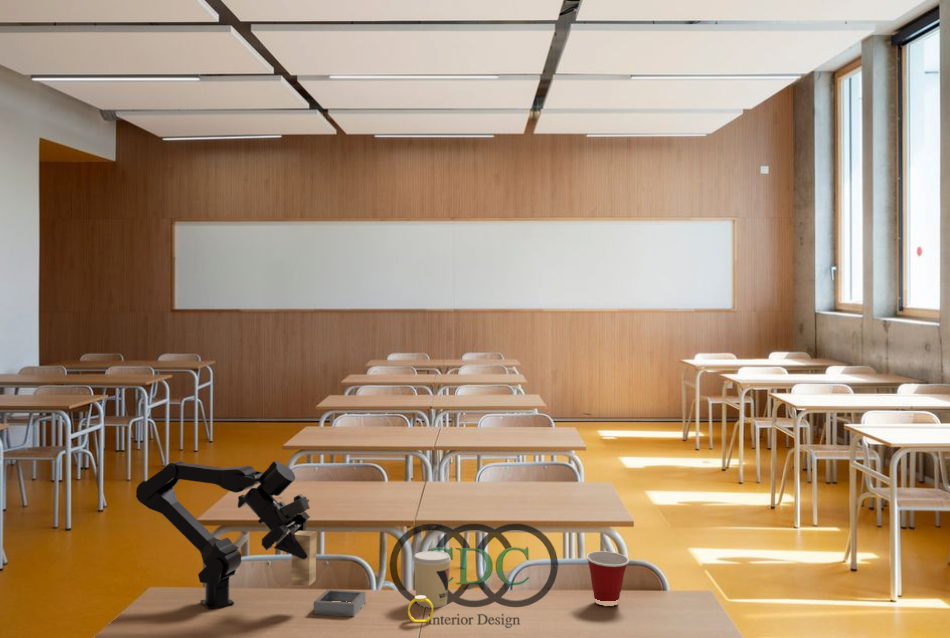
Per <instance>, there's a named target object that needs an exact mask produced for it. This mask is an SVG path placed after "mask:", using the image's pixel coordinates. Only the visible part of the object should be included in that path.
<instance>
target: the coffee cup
mask: <svg viewBox="0 0 950 638" xmlns="http://www.w3.org/2000/svg"><path fill="white" fill-rule="evenodd" d="M413 565H414V567H413V568H414V570H413V571H414V585H415V586H414V587H415V596H418V595H424V596H426V598H427V599H428V600H430V601H431V603H432V605H433V609H435V608H442V607H444V606H447V603H448V592H449V581H450V580H449V579H450V565H451V556H450V554H449V553H447V552H444V551H439V550H425V551H419V552H417V553H416V554H414V556H413ZM416 602H417V603H418V604H420V605H422V606H426V607H428V608H427V609H432V608H431V606H430V604H429V603H428V602H426V601H421V602H419V601H415V603H416ZM417 603H416V604H417ZM426 607H425V608H426Z"/></svg>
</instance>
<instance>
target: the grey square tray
mask: <svg viewBox="0 0 950 638" xmlns="http://www.w3.org/2000/svg"><path fill="white" fill-rule="evenodd" d="M366 593H367V592H366V591H358V590H356V591H354V590H343V589H342V590H341V589H340V590H339V589H337V590H336V589H326V590H325V591H324V592H323V593H322V594H321V595H319V596H318V597H317V598H316V599H315V600H314V601H313V615H317V616H318V615H319V616H323V615H324V616H334V615H336V616H337V615H338V616H337V617H349V616H354V617H355V616H356V615H357V614H358V613H359V612H358V610H359V609H360V608H361V606H362V605H363V604H364V603H365V601H366V596H367V595H366ZM332 601H341V602H332ZM346 601H347V602H346ZM348 602H351V603H348ZM365 604H366V603H365ZM361 609H362V608H361ZM361 609H360V610H361ZM357 612H358V613H357ZM356 613H357V614H356ZM355 614H356V615H355Z"/></svg>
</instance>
